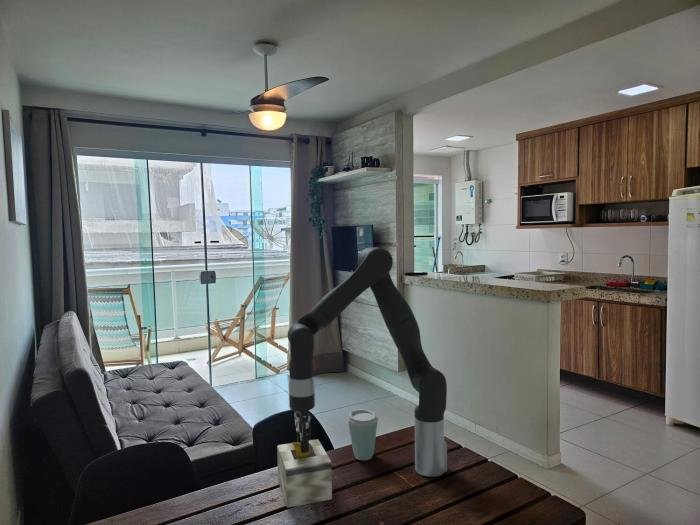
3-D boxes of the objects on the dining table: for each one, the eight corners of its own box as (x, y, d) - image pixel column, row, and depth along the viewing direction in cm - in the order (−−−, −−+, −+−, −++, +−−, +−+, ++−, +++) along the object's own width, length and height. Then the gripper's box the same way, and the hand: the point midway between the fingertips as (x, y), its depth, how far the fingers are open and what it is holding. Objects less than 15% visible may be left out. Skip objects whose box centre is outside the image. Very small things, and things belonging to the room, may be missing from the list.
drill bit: (318, 461, 139) (300, 447, 133) (303, 467, 141) (284, 454, 135) (317, 444, 143) (299, 430, 137) (302, 450, 145) (284, 437, 139)
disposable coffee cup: (384, 454, 162) (383, 411, 162) (368, 467, 153) (367, 421, 153) (358, 447, 168) (357, 405, 167) (341, 459, 159) (340, 415, 158)
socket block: (318, 472, 150) (317, 438, 150) (332, 500, 134) (331, 462, 134) (277, 479, 147) (276, 444, 146) (287, 508, 130) (286, 470, 130)
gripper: (319, 397, 133) (321, 456, 134) (309, 383, 147) (310, 436, 148) (293, 401, 131) (295, 460, 132) (285, 386, 145) (286, 440, 145)
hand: (303, 447), depth 140 cm, fingers closed on drill bit, 4 cm apart
